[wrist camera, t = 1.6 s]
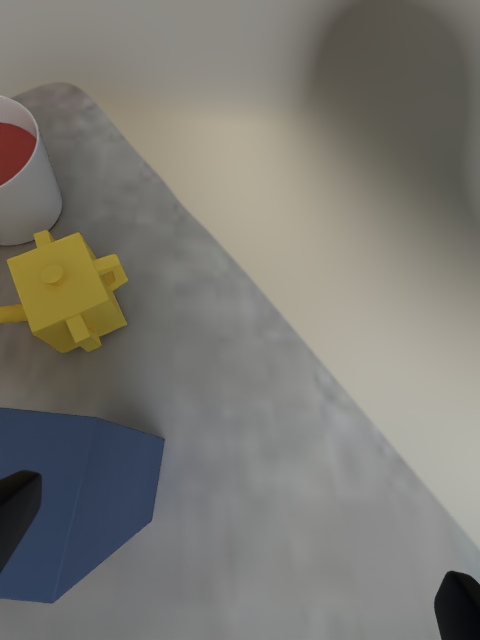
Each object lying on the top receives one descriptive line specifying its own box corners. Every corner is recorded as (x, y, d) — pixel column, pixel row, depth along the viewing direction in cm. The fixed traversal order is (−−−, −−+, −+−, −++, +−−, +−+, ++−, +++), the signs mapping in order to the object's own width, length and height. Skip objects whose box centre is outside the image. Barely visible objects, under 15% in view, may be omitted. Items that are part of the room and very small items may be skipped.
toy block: (7, 290, 25) (-48, 248, 20) (114, 247, 27) (88, 197, 22) (41, 390, 23) (-12, 370, 18) (156, 335, 24) (138, 303, 19)
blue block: (151, 521, 20) (53, 604, 9) (73, 513, 20) (-130, 586, 9) (165, 439, 22) (97, 417, 10) (93, 431, 22) (-57, 401, 10)
